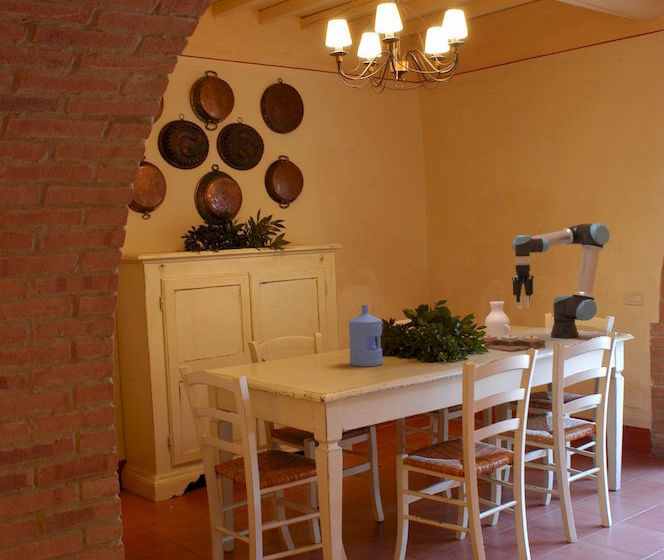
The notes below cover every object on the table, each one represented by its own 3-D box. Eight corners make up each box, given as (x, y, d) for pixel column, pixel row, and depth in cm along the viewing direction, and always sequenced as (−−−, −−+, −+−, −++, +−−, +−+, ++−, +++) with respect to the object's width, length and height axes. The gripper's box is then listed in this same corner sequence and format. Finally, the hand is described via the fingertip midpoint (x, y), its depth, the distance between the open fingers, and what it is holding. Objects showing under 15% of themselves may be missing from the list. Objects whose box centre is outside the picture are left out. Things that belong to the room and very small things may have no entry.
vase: (512, 337, 484) (511, 302, 482) (487, 338, 484) (486, 303, 483) (507, 334, 498) (506, 300, 497) (483, 335, 498) (482, 301, 497)
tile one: (510, 340, 449) (510, 335, 449) (518, 341, 444) (518, 336, 444) (501, 341, 446) (501, 336, 446) (509, 342, 441) (509, 337, 441)
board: (509, 342, 463) (509, 336, 462) (545, 347, 439) (545, 340, 439) (475, 346, 451) (475, 339, 451) (510, 352, 427) (510, 345, 427)
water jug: (345, 366, 396) (343, 306, 395) (355, 361, 411) (354, 303, 409) (377, 367, 391) (375, 307, 389) (386, 362, 406) (385, 303, 404)
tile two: (489, 340, 453) (489, 335, 453) (497, 341, 448) (496, 336, 447) (480, 341, 450) (480, 336, 450) (488, 342, 445) (488, 337, 444)
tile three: (531, 341, 445) (531, 335, 445) (539, 342, 440) (539, 336, 440) (523, 342, 442) (523, 336, 442) (531, 343, 437) (531, 337, 437)
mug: (515, 340, 471) (514, 321, 471) (506, 341, 466) (506, 323, 465) (497, 338, 480) (496, 320, 479) (488, 340, 474) (488, 322, 474)
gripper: (530, 263, 457) (530, 306, 458) (505, 264, 448) (505, 308, 449) (540, 263, 450) (540, 307, 452) (515, 265, 442) (515, 309, 443)
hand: (523, 308), depth 451 cm, fingers open, 4 cm apart
